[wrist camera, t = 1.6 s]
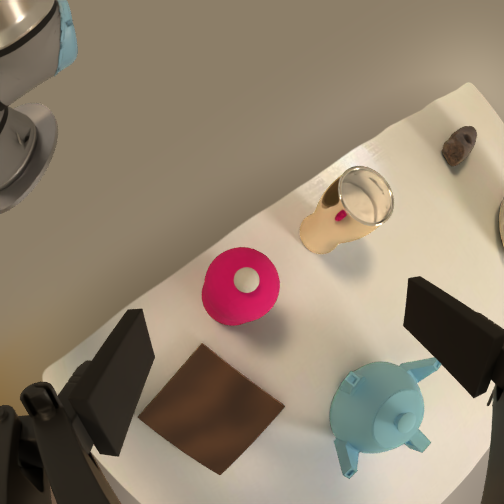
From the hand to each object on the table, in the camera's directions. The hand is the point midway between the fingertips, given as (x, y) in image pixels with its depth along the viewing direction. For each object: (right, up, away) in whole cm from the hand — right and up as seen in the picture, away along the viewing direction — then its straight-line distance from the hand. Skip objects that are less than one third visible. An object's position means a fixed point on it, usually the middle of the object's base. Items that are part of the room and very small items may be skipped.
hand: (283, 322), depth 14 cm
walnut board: (-7, -18, +22) cm, 29 cm away
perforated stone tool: (+42, +25, +38) cm, 62 cm away
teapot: (+16, -19, +25) cm, 35 cm away
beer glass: (+8, +6, +30) cm, 31 cm away
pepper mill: (-4, -3, +26) cm, 27 cm away
